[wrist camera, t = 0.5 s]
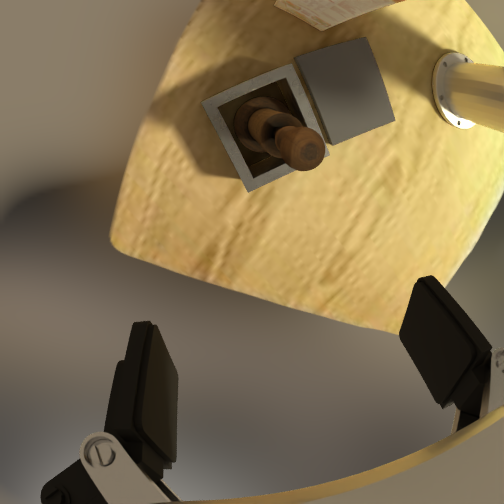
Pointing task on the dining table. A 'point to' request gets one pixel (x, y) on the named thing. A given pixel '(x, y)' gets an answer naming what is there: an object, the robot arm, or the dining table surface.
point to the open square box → (297, 106)
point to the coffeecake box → (330, 10)
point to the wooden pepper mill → (278, 133)
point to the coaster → (346, 89)
